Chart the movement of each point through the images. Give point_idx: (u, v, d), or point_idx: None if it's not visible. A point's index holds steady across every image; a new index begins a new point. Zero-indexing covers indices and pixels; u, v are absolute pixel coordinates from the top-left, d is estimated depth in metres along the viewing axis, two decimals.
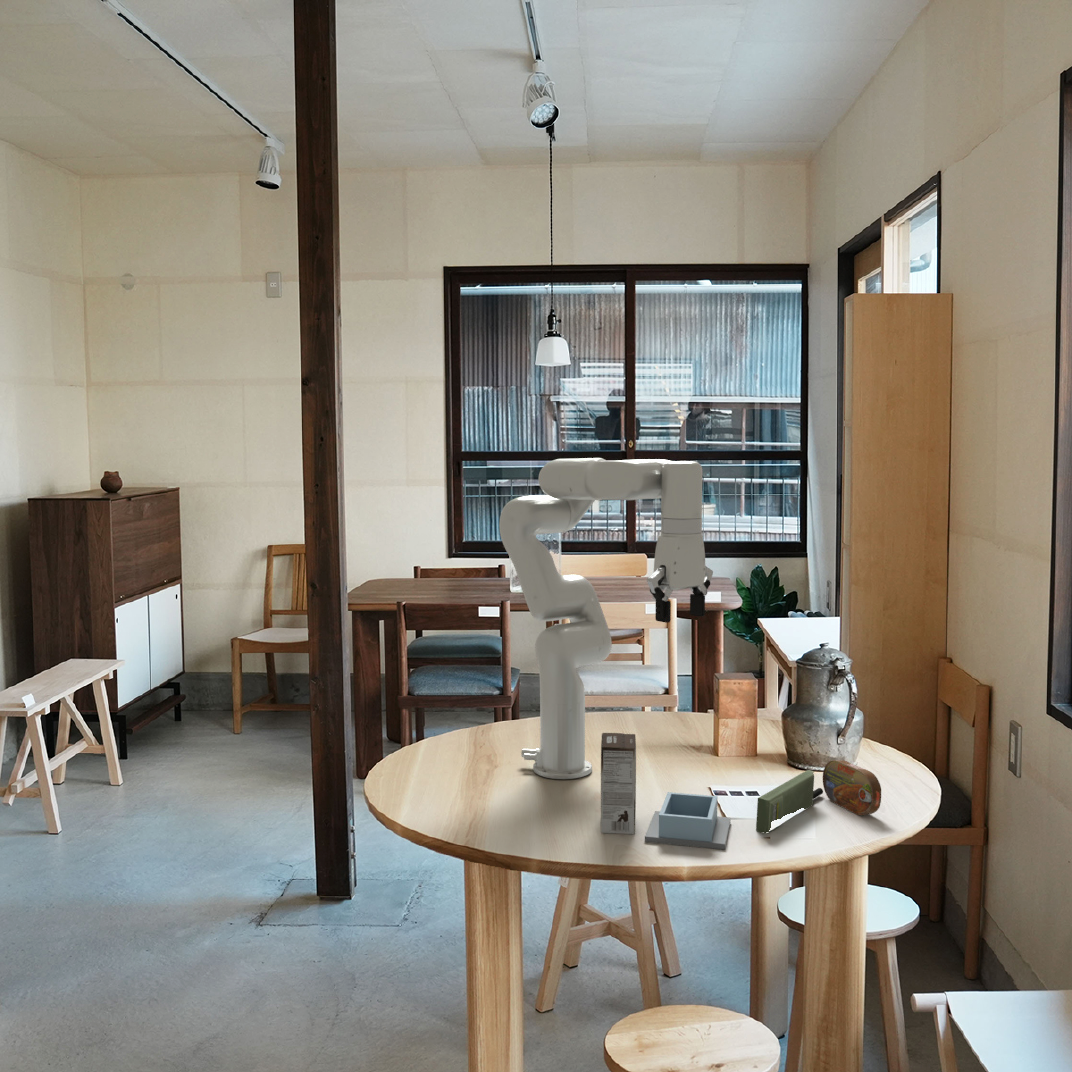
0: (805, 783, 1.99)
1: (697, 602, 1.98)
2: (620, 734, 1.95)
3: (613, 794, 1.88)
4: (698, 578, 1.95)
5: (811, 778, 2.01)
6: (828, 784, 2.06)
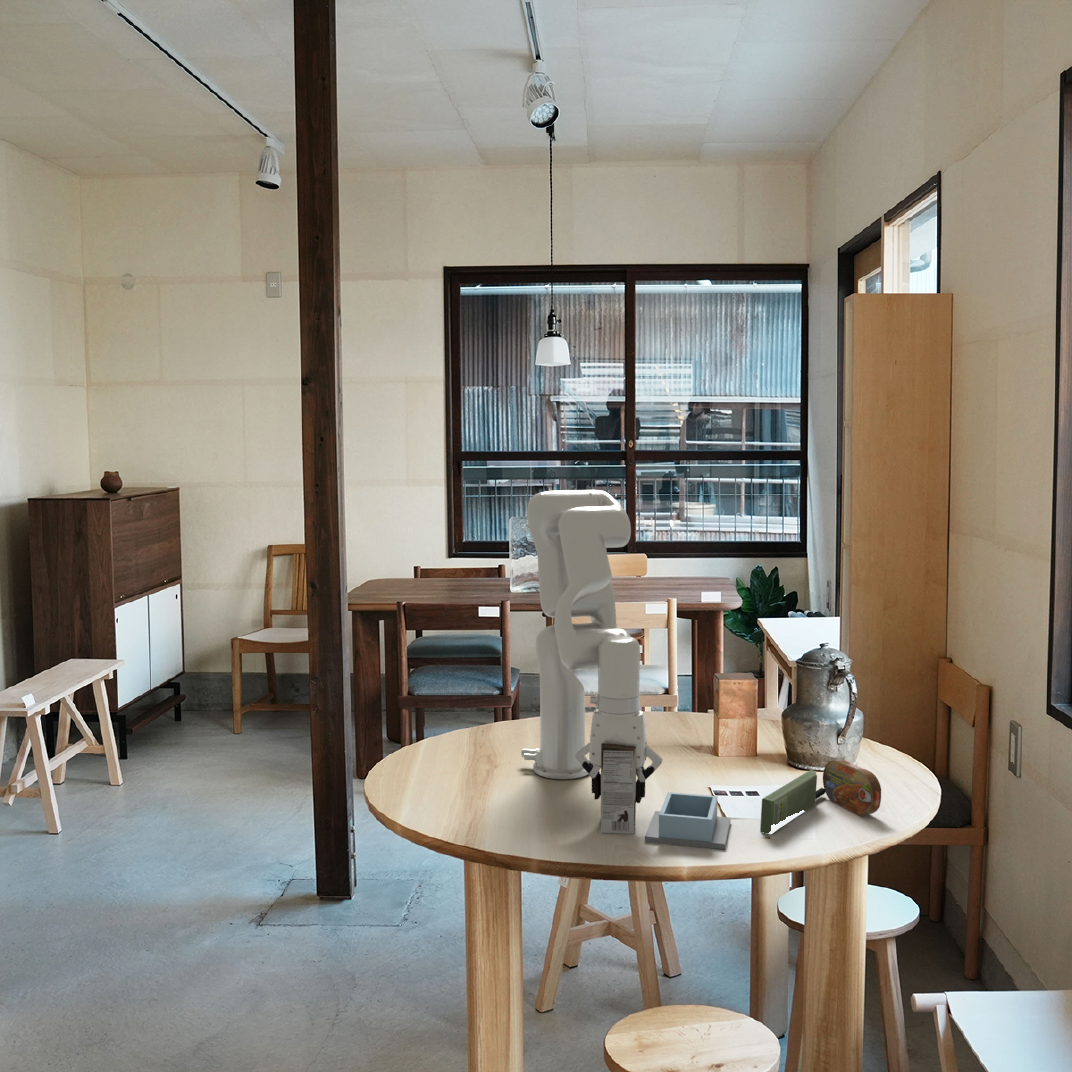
0: (808, 783, 1.99)
1: (600, 783, 1.93)
2: None
3: (613, 794, 1.88)
4: None
5: (814, 778, 2.01)
6: (828, 784, 2.06)
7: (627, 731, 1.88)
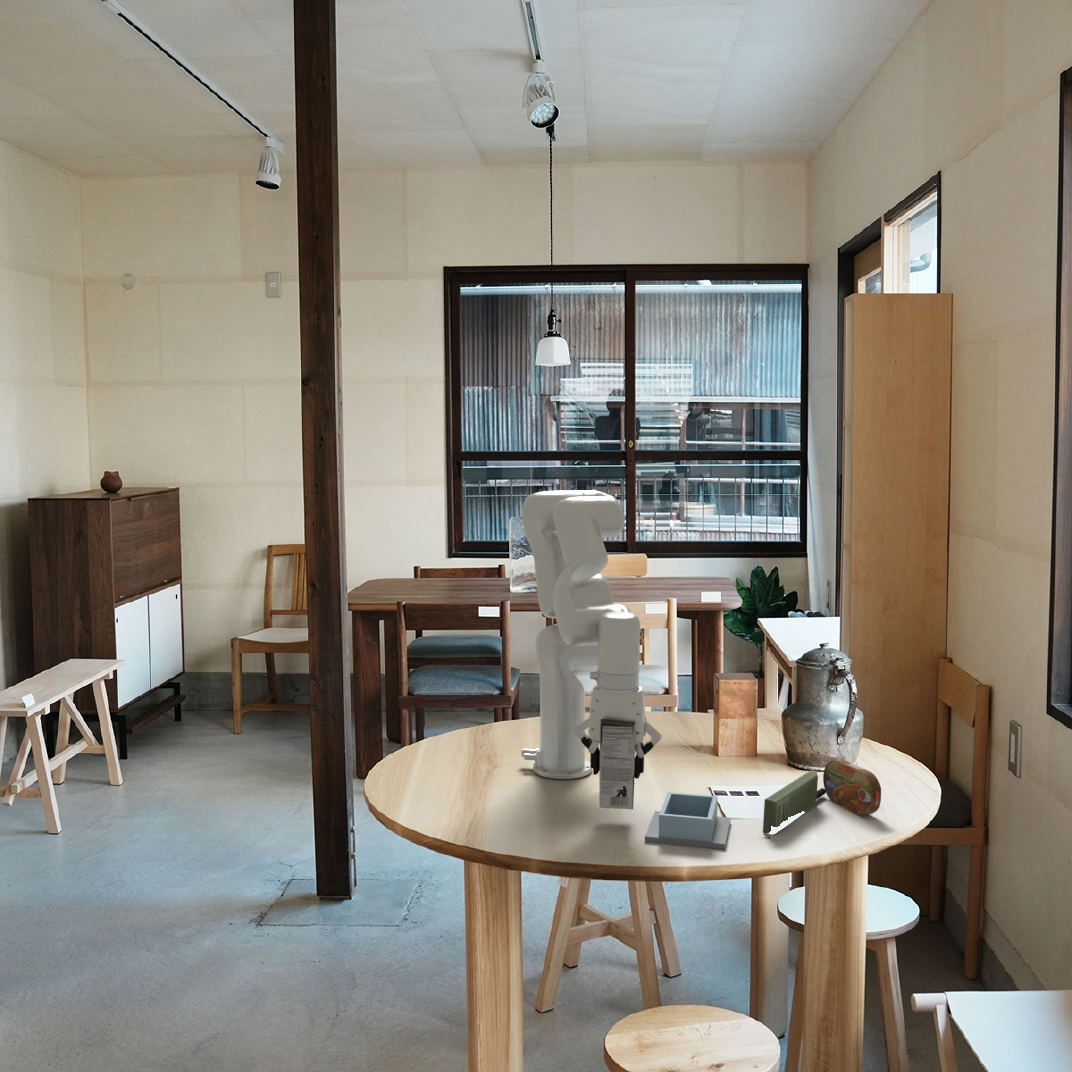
0: (810, 784, 1.99)
1: (599, 758, 1.93)
2: None
3: (612, 769, 1.88)
4: None
5: (815, 778, 2.01)
6: (829, 784, 2.06)
7: (626, 707, 1.88)
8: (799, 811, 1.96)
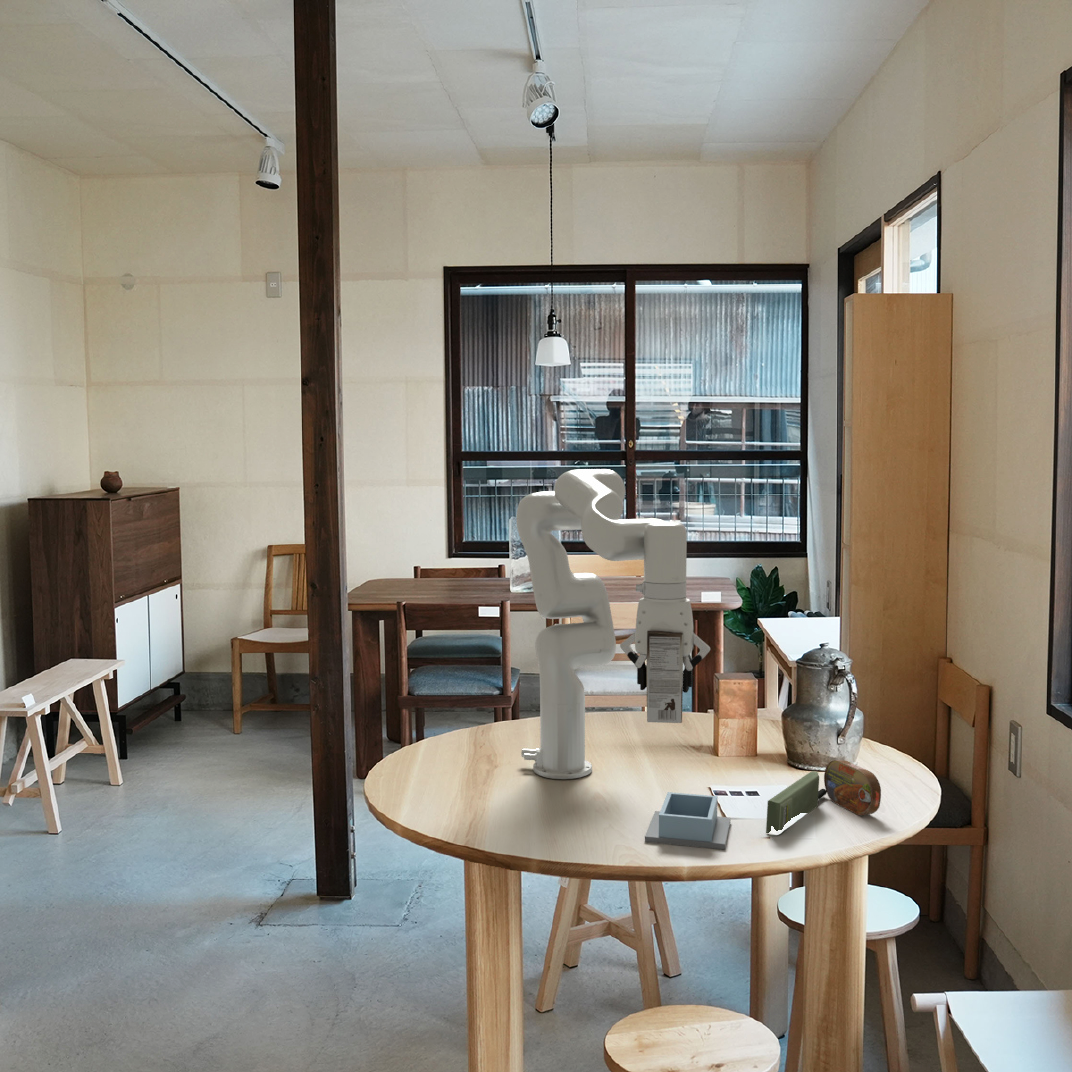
0: (811, 785, 1.99)
1: (646, 673, 1.89)
2: None
3: (660, 681, 1.83)
4: None
5: (816, 779, 2.01)
6: (829, 784, 2.06)
7: (674, 617, 1.83)
8: (801, 812, 1.96)
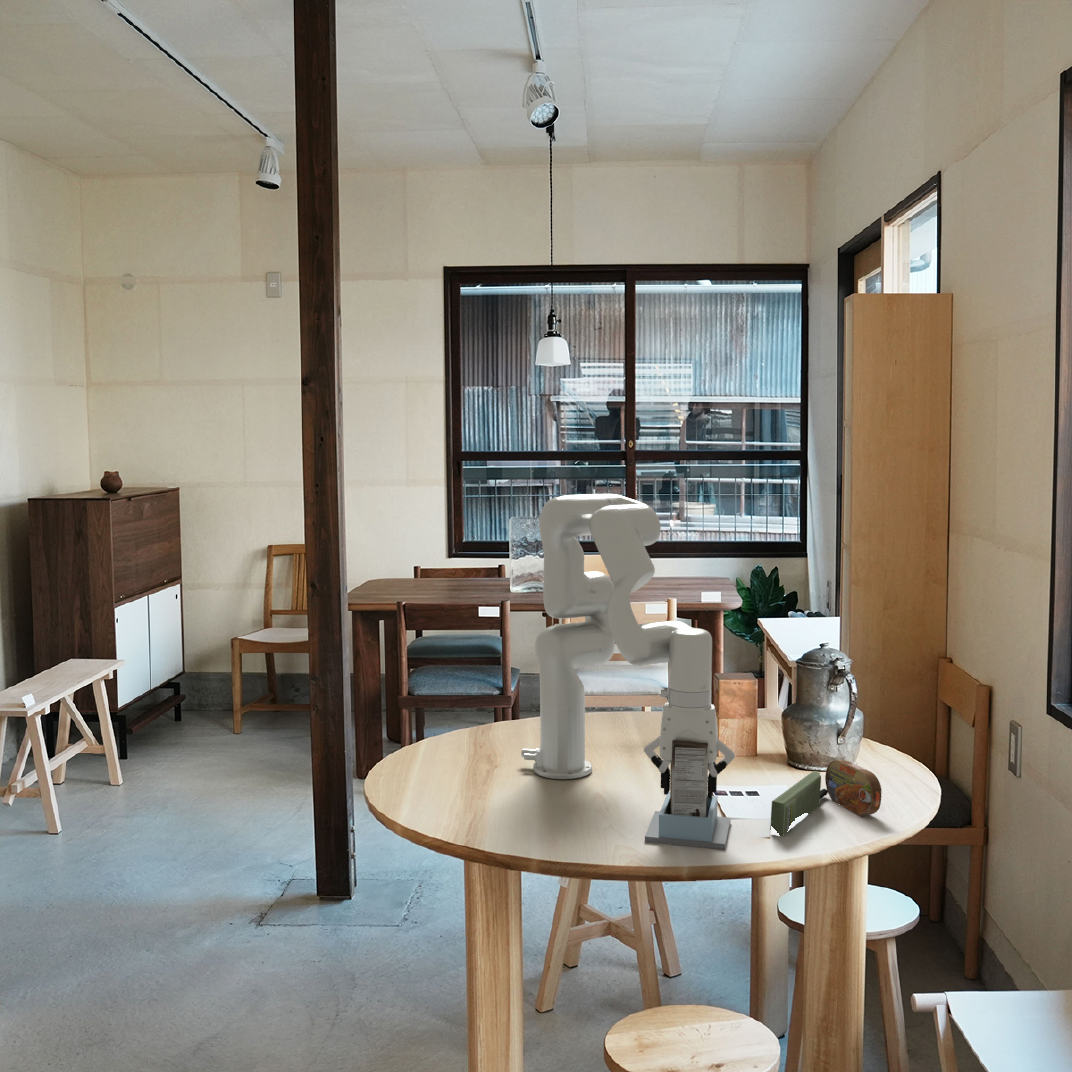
0: (814, 785, 1.98)
1: (669, 777, 1.89)
2: None
3: (685, 791, 1.84)
4: None
5: (818, 779, 2.00)
6: (830, 784, 2.06)
7: (699, 725, 1.84)
8: (804, 812, 1.95)
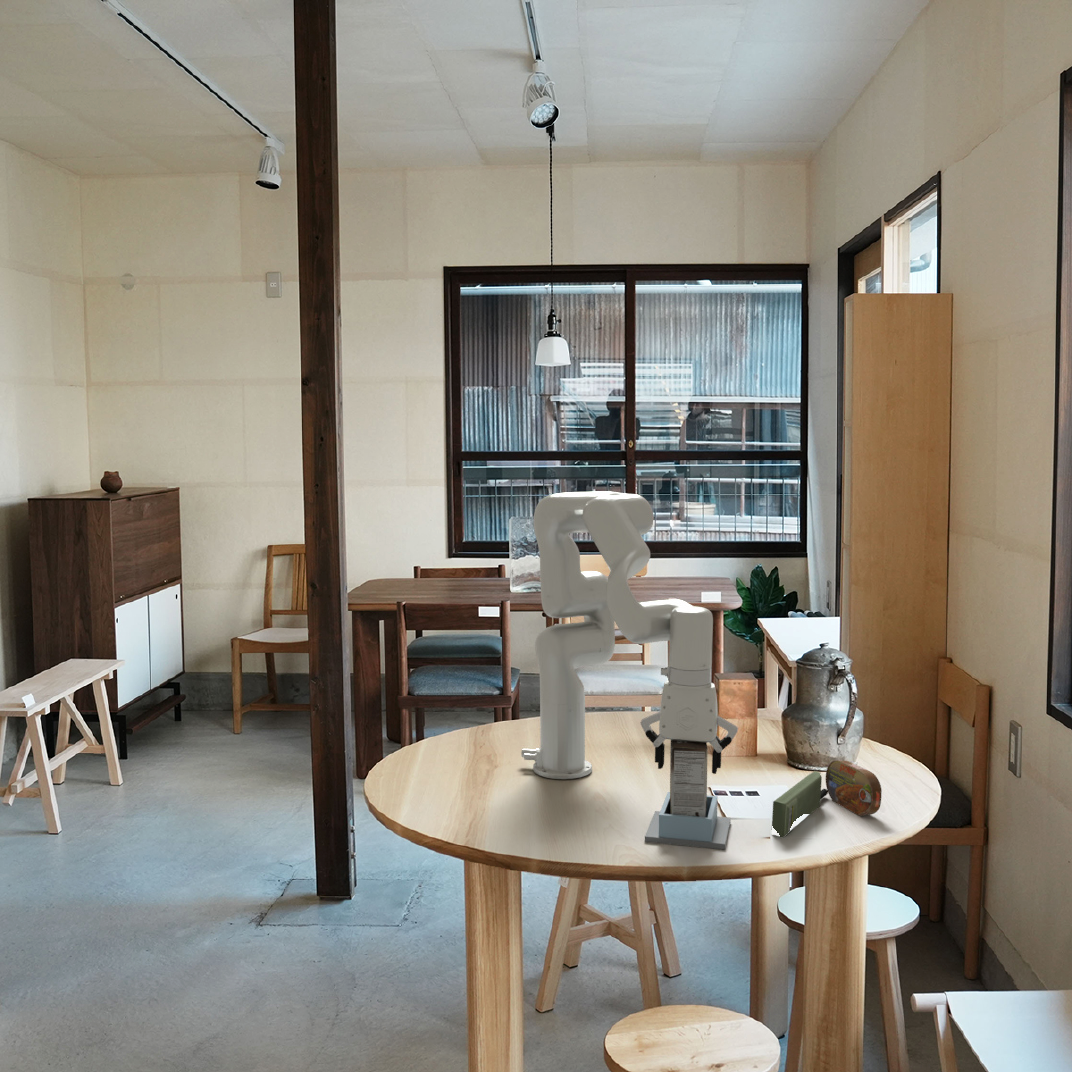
0: (814, 785, 1.98)
1: (663, 752, 1.89)
2: None
3: (684, 795, 1.84)
4: None
5: (819, 779, 2.00)
6: (831, 784, 2.06)
7: (699, 703, 1.84)
8: (805, 812, 1.95)
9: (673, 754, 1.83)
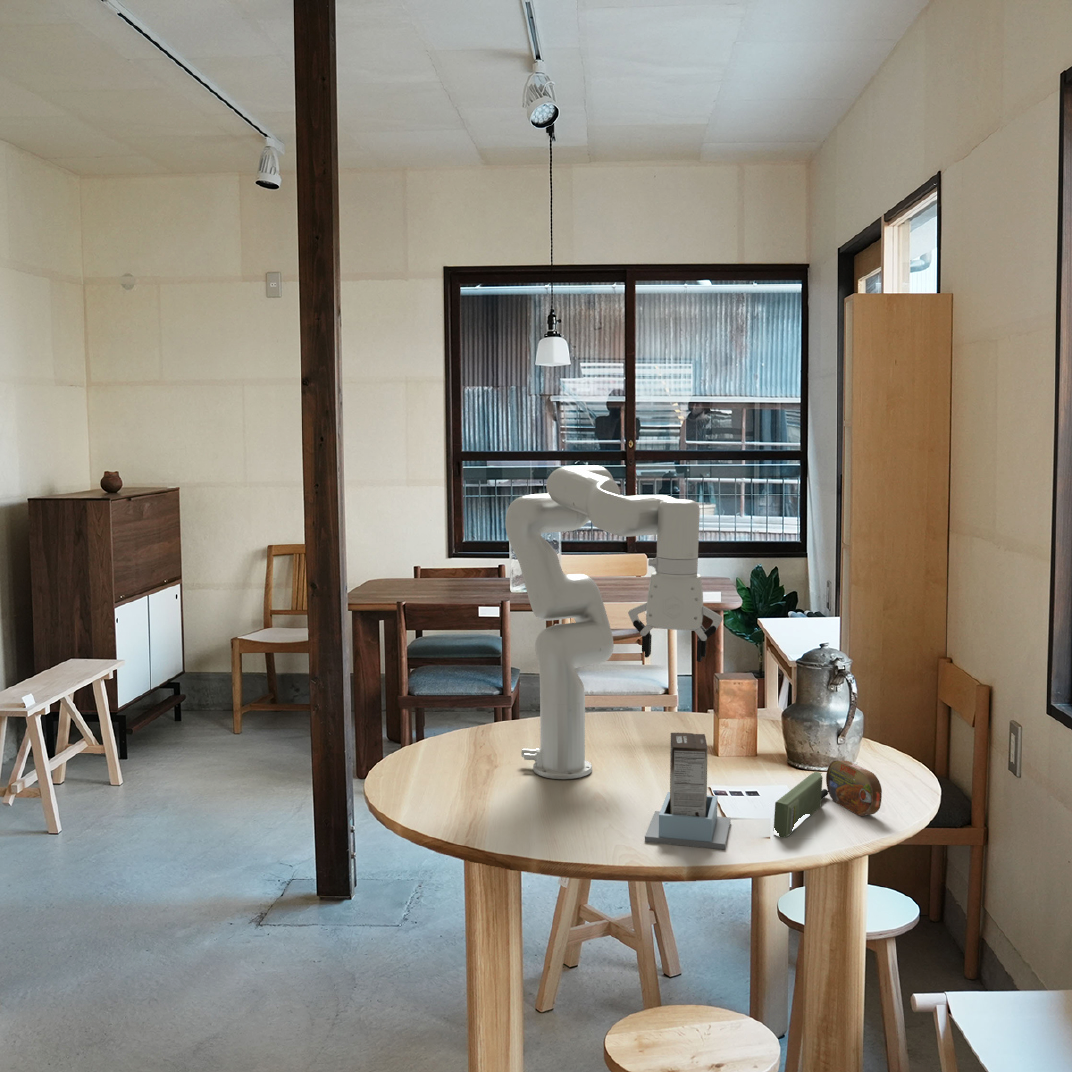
0: (815, 785, 1.98)
1: (650, 641, 1.95)
2: (689, 734, 1.91)
3: (684, 795, 1.84)
4: None
5: (820, 779, 2.00)
6: (831, 784, 2.06)
7: (685, 592, 1.89)
8: (806, 813, 1.95)
9: (673, 754, 1.83)
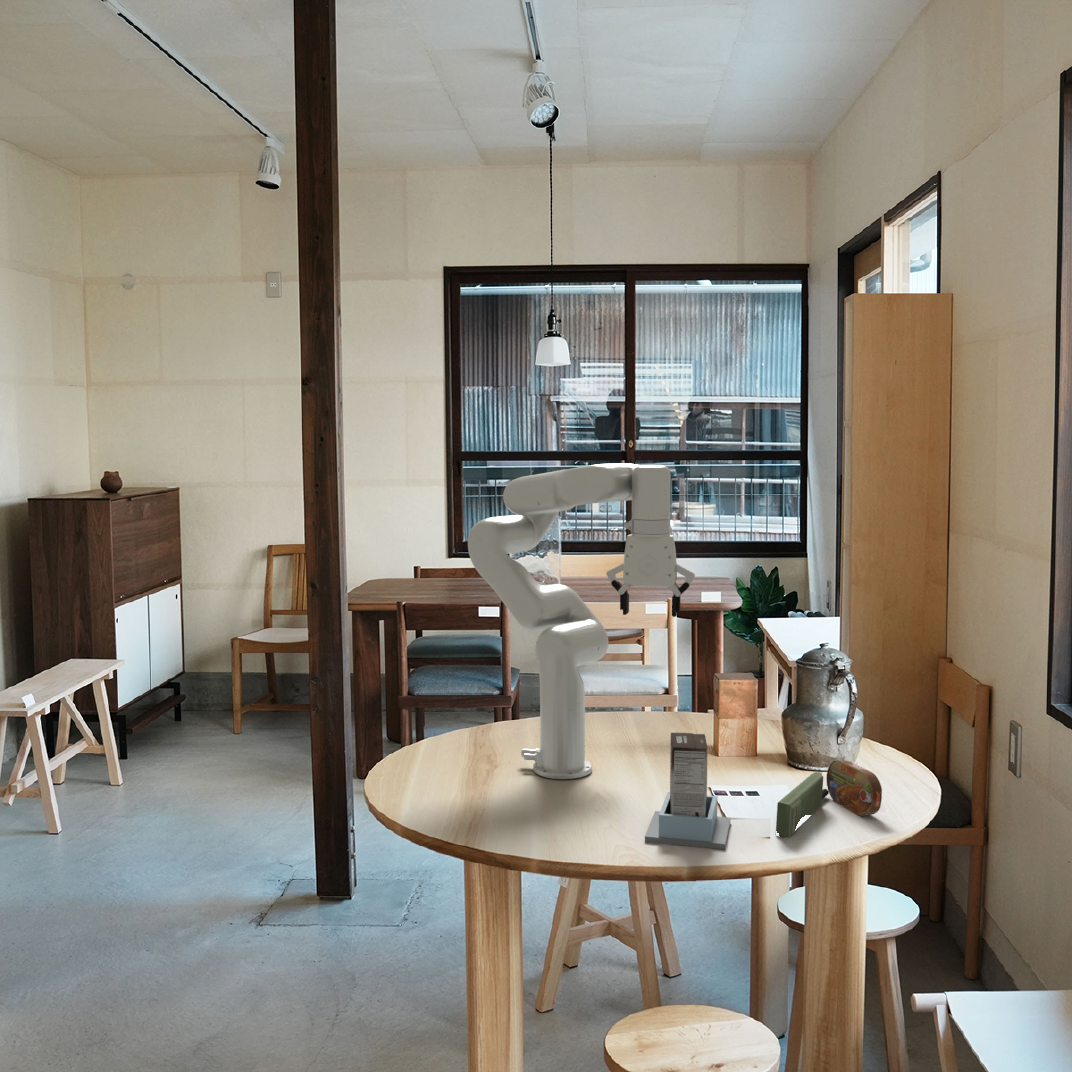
0: (817, 785, 1.98)
1: (628, 600, 2.07)
2: (689, 734, 1.91)
3: (684, 795, 1.84)
4: None
5: (821, 779, 2.00)
6: (832, 784, 2.06)
7: (659, 551, 2.01)
8: (808, 813, 1.95)
9: (673, 754, 1.83)
